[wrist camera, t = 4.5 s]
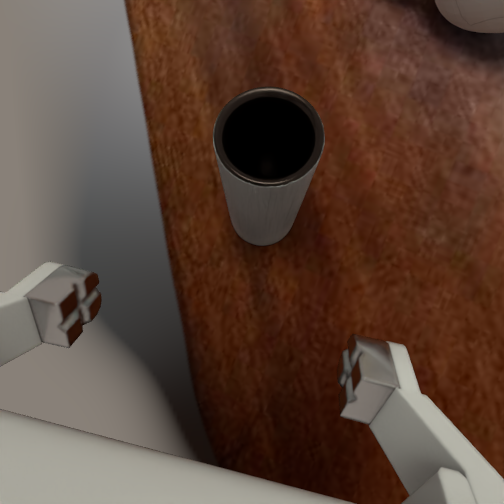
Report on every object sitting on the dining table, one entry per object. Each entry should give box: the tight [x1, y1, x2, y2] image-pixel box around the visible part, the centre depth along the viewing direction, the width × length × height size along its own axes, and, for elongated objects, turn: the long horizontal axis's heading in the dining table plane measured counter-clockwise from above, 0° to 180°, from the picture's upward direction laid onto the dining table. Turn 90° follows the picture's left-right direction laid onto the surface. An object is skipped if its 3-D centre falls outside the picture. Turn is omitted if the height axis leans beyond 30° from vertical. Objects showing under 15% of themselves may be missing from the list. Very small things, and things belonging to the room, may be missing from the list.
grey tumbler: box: [213, 87, 325, 246], centre depth 18 cm, size 4×4×10 cm
